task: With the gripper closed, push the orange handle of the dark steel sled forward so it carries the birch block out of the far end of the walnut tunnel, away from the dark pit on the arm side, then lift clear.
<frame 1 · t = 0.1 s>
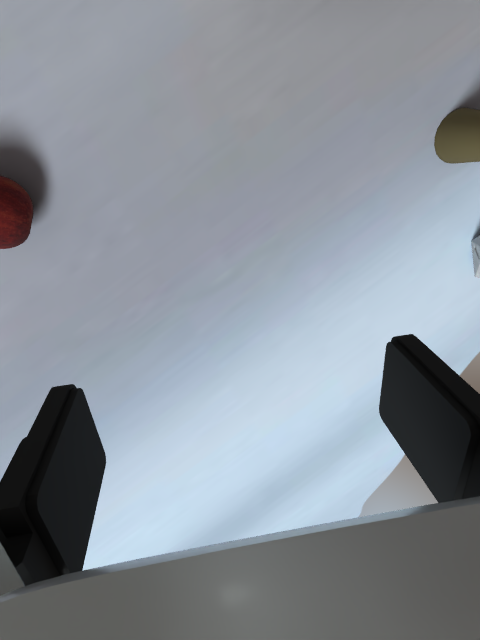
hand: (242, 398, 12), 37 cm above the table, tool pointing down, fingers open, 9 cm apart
tan pawn: (457, 136, 46), on the table
apple: (9, 204, 42), on the table
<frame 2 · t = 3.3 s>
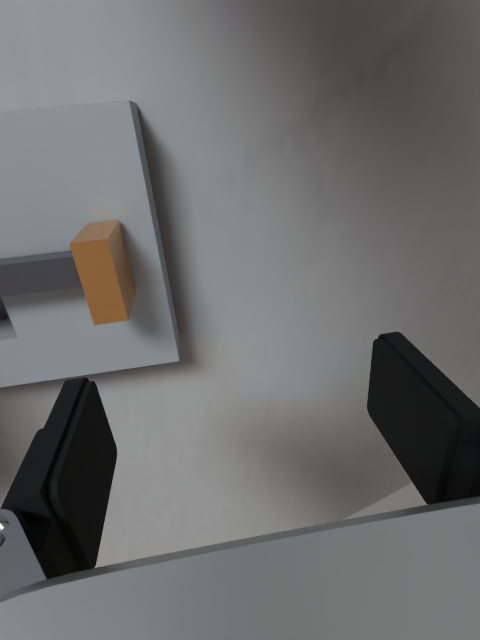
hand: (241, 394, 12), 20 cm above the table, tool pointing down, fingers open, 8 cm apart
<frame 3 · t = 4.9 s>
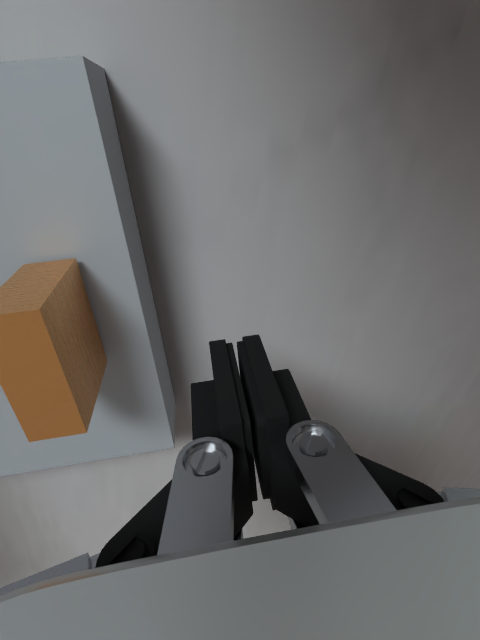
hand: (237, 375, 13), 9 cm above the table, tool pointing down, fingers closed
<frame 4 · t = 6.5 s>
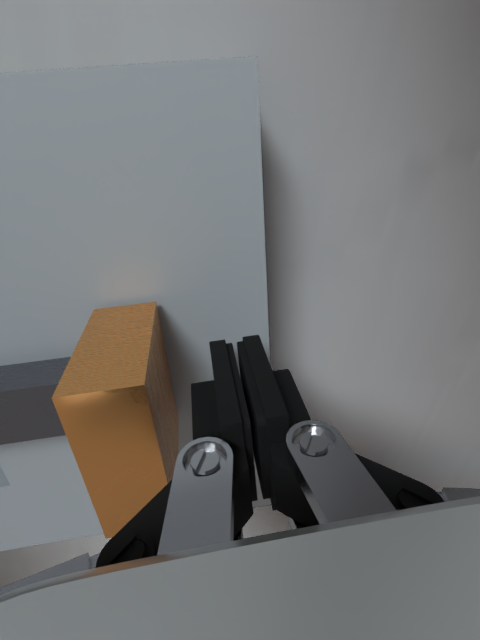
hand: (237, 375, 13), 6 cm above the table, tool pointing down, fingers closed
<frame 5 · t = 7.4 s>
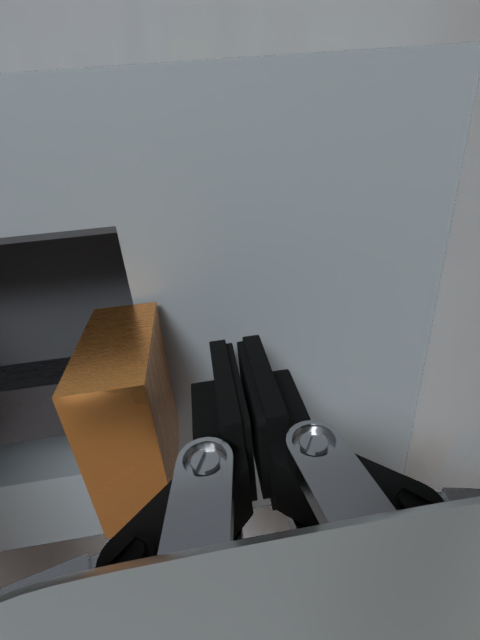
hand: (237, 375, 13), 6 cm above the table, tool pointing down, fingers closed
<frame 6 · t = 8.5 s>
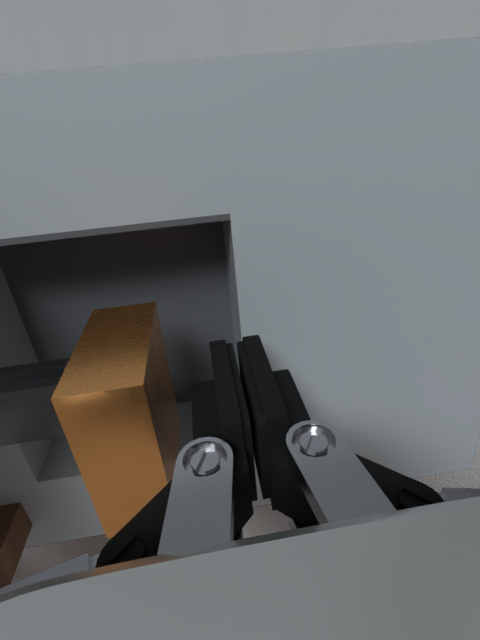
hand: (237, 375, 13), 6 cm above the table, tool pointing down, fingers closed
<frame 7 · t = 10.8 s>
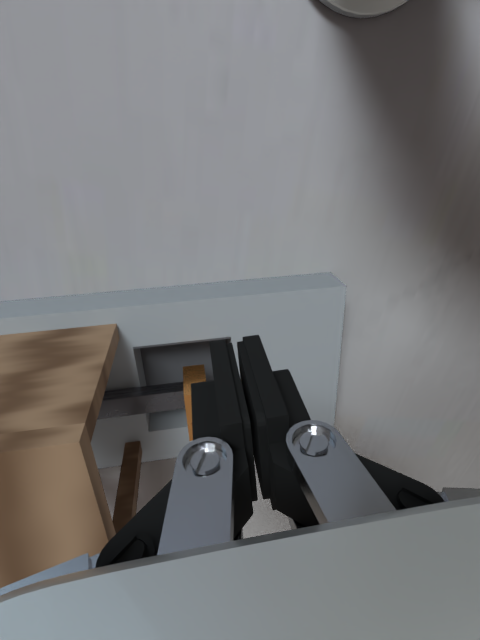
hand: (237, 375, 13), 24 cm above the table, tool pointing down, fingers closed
tunnel: (54, 457, 29), on the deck, point 11 cm above the table
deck: (85, 376, 39), on the table
sled: (45, 420, 33), point 7 cm above the table, slide at 11.8 cm, touching block
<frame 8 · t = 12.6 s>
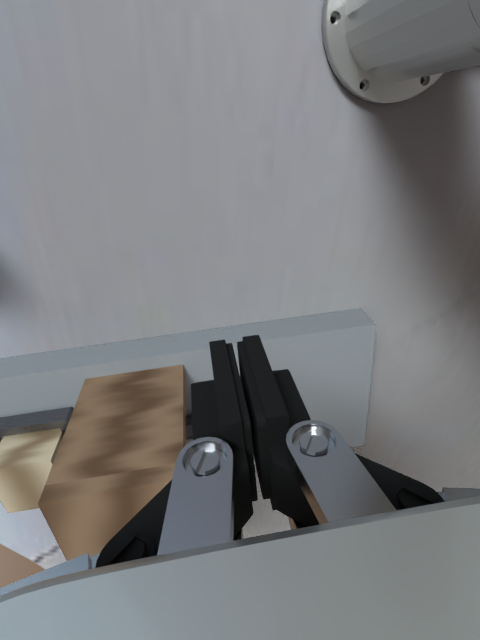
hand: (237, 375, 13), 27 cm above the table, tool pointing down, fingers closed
tunnel: (143, 478, 36), on the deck, point 11 cm above the table
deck: (151, 402, 46), on the table
sled: (127, 445, 40), point 7 cm above the table, slide at 11.8 cm, touching block
block: (47, 441, 42), point 4 cm above the table, touching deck, sled
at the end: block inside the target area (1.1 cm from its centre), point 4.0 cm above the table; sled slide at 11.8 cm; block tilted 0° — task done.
